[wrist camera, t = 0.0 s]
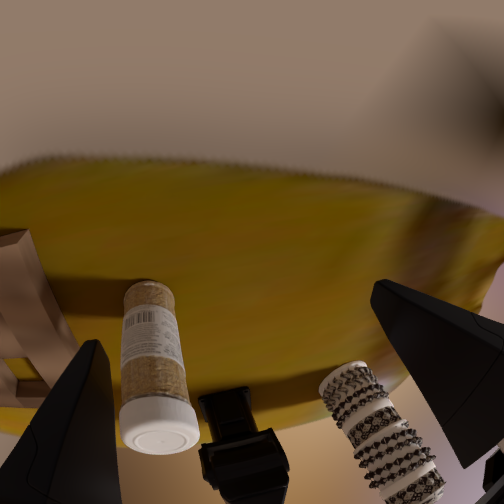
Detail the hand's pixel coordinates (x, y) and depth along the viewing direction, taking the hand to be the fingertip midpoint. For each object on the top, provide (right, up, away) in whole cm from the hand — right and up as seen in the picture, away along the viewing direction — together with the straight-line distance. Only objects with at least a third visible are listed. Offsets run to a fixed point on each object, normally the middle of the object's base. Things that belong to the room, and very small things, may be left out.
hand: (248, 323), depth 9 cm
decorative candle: (+14, -17, +32) cm, 39 cm away
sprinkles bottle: (-9, -2, +16) cm, 18 cm away
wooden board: (-25, -6, +13) cm, 29 cm away
